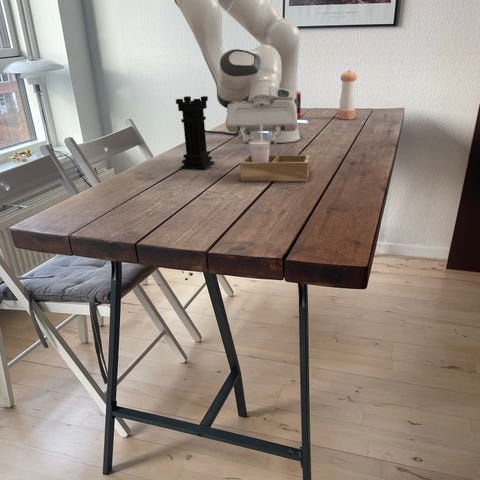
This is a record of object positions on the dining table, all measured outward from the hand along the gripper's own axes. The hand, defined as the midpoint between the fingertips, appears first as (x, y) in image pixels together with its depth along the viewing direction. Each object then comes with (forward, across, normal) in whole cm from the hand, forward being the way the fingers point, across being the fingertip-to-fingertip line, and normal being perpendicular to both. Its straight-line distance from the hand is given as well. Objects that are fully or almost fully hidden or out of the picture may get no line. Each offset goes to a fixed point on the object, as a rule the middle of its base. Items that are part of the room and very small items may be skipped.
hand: (259, 143), depth 139 cm
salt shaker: (-64, +24, +78) cm, 104 cm away
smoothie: (+6, 0, +7) cm, 10 cm away
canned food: (-66, -1, +80) cm, 104 cm away
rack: (+6, +4, +7) cm, 10 cm away
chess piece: (-2, -22, +16) cm, 27 cm away
